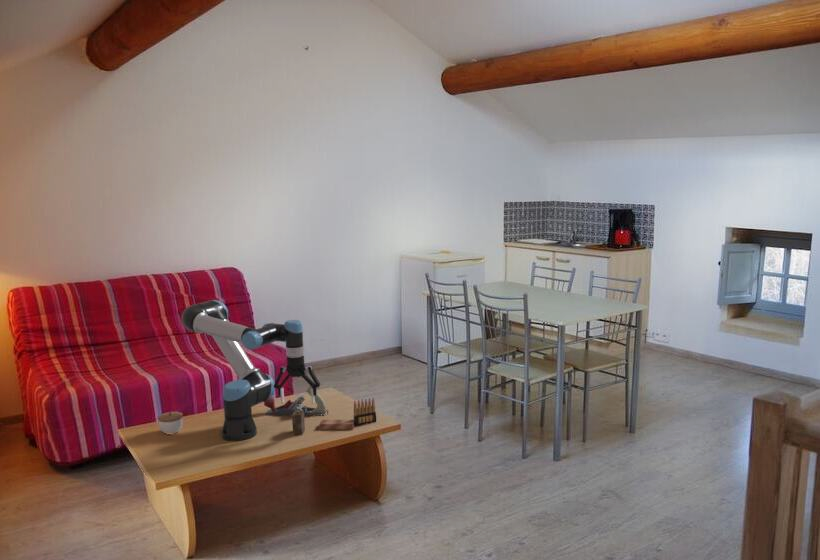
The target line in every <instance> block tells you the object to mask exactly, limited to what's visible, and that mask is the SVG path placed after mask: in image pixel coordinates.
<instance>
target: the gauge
mask: <svg viewBox="0 0 820 560" xmlns="http://www.w3.org/2000/svg"><path fill="white" fill-rule="evenodd" d="M291 422H292V423H291V424H292V436H302V435H304V432H305V431H306V425H305V424H306V423H305V416H304V411H303V410H300V411H295V412H294V413H293V414H292V416H291Z"/></svg>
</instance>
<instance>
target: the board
mask: <svg viewBox="0 0 820 560" xmlns="http://www.w3.org/2000/svg"><path fill="white" fill-rule="evenodd" d="M318 427H319V430H354V428H355V424H354V419H321V420H320V421H319V426H318Z"/></svg>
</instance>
